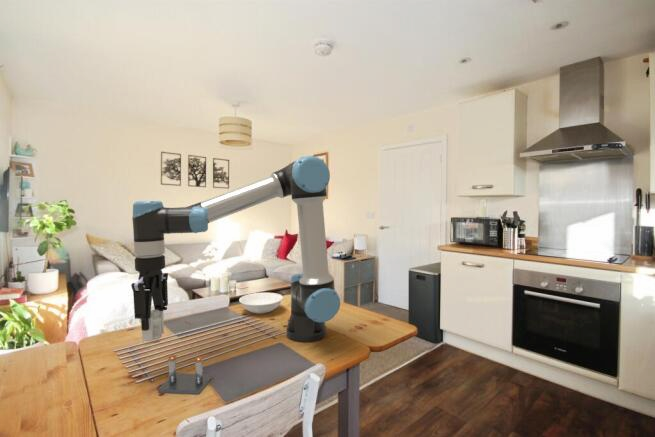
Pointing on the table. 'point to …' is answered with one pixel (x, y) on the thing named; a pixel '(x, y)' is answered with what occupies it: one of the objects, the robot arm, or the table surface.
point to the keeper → (185, 379)
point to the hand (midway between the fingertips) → (153, 336)
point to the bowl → (261, 302)
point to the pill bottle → (156, 324)
